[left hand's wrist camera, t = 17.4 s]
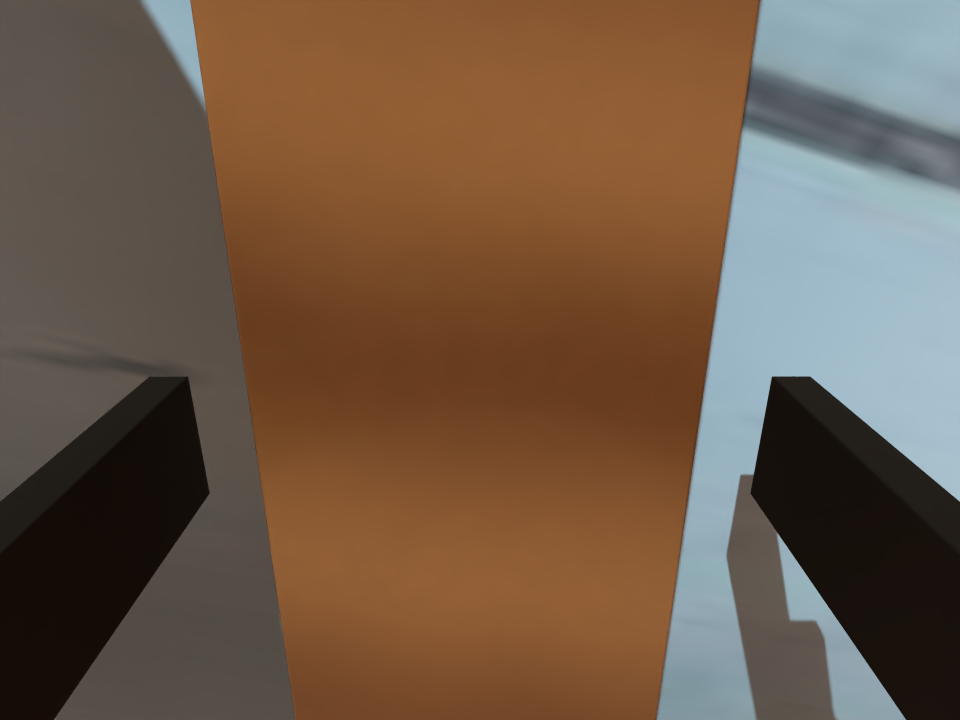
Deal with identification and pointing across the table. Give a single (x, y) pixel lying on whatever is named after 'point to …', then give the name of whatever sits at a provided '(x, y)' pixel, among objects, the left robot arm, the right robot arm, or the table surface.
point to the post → (475, 332)
